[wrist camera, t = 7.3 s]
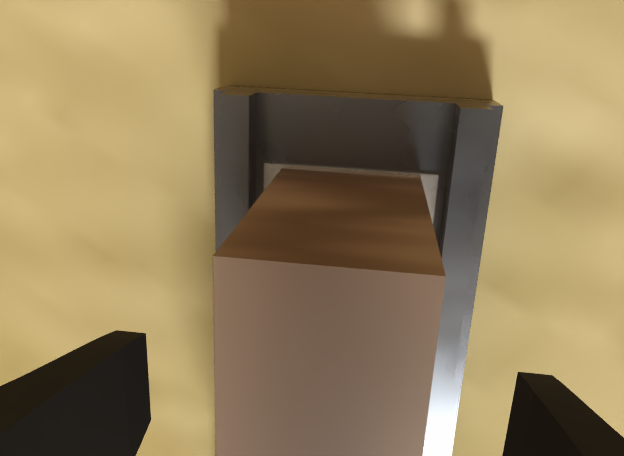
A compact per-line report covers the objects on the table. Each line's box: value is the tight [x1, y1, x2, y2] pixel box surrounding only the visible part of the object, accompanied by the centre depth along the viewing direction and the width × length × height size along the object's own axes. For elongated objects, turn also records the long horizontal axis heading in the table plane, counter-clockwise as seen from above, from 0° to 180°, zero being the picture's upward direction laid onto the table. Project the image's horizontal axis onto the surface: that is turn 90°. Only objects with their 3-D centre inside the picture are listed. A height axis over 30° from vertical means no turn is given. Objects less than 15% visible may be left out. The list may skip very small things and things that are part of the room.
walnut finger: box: [213, 168, 446, 456], centre depth 14 cm, size 4×6×7 cm
